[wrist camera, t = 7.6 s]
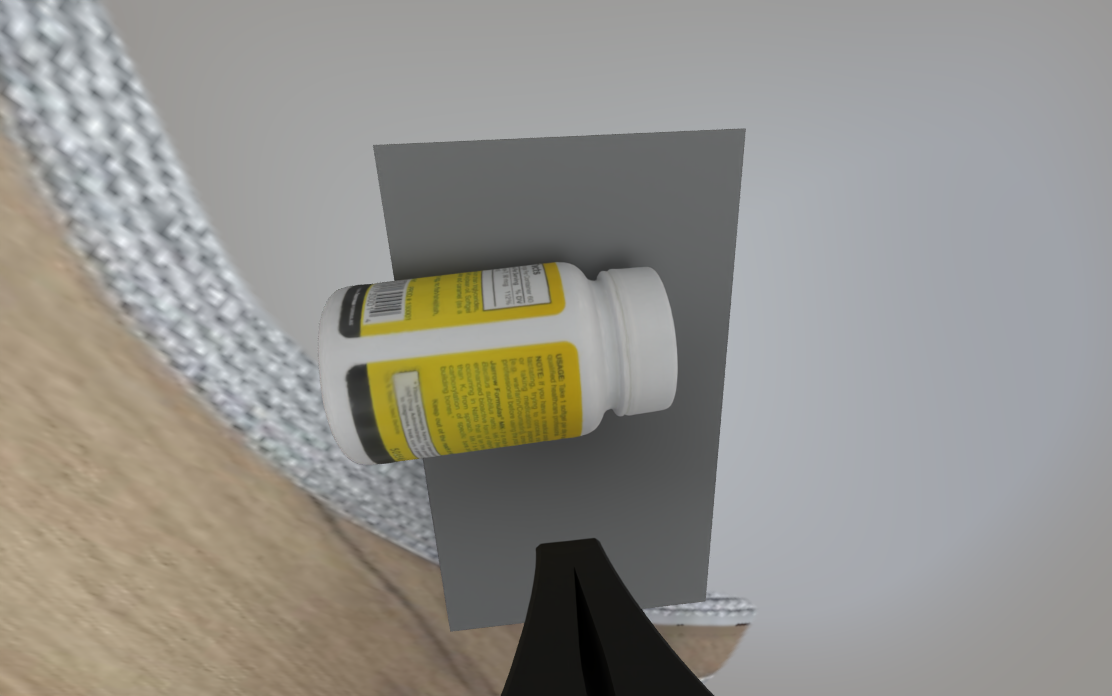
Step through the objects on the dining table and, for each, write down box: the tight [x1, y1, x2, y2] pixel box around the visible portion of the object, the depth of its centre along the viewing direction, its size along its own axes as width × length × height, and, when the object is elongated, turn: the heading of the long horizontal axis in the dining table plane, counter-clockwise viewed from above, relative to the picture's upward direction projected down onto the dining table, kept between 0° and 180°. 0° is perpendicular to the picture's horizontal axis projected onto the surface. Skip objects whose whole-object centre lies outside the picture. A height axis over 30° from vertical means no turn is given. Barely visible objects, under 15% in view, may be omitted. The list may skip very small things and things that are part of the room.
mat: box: [373, 129, 746, 631], centre depth 18 cm, size 18×10×1 cm, turn 2°
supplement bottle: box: [318, 262, 678, 465], centre depth 14 cm, size 5×5×8 cm
